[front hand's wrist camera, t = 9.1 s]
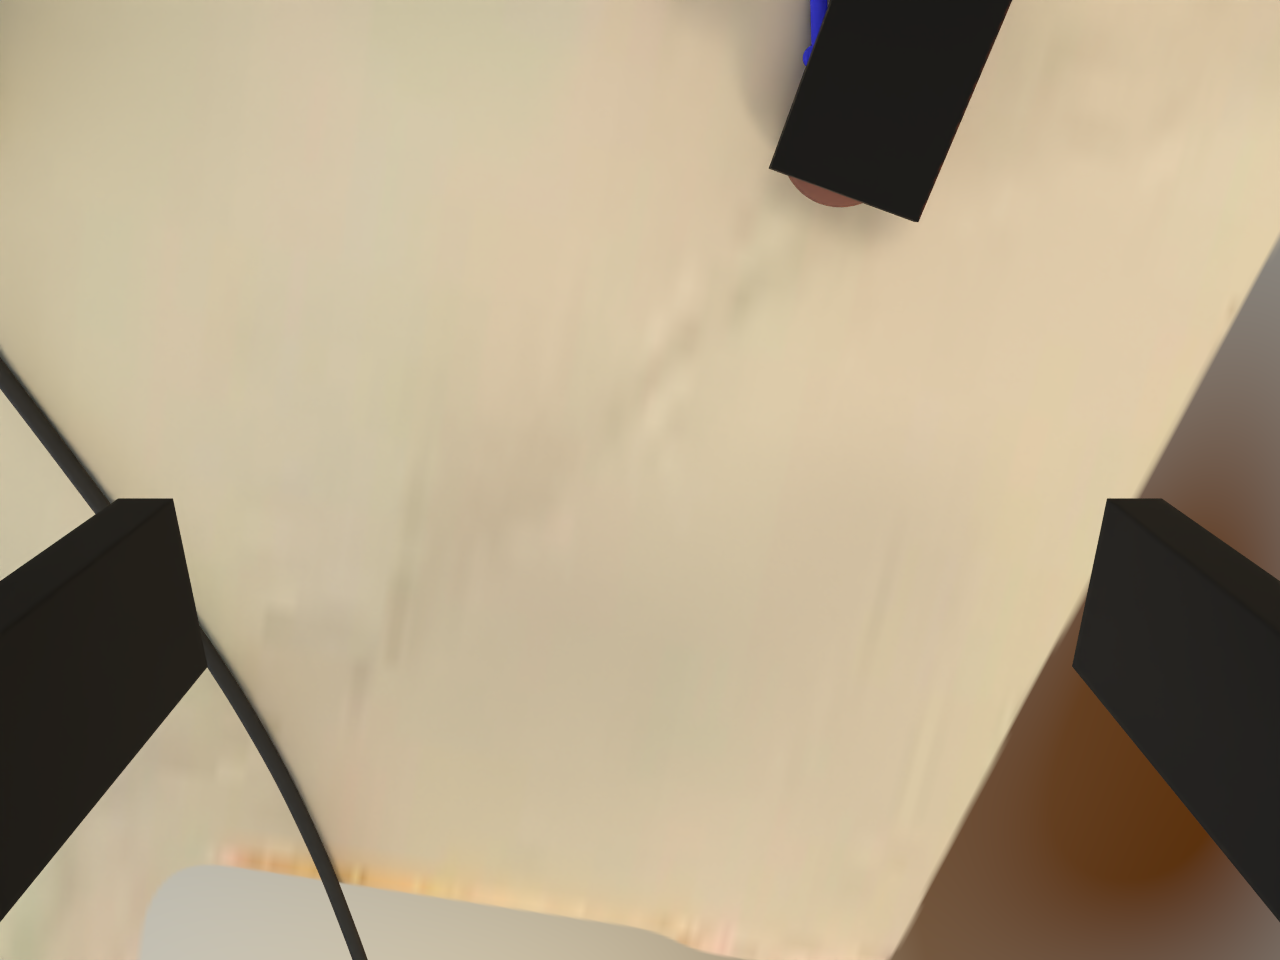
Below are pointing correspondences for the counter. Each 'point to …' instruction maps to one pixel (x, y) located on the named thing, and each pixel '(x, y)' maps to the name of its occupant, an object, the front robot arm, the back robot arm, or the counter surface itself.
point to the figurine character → (883, 98)
